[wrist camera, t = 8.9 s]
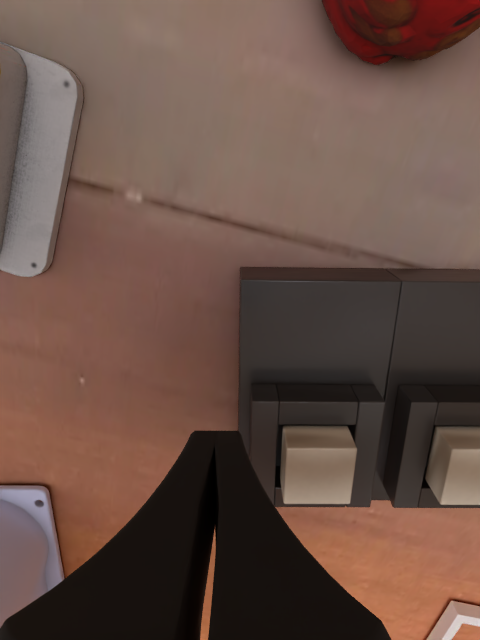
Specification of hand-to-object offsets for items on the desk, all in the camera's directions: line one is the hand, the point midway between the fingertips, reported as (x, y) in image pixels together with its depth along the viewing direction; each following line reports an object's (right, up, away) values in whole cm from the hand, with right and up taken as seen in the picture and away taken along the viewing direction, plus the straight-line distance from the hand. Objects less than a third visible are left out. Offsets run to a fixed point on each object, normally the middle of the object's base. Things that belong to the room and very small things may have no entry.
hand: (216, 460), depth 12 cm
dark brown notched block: (+11, +1, +11) cm, 15 cm away
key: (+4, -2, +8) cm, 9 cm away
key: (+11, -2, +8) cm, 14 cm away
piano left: (+4, +1, +11) cm, 12 cm away
